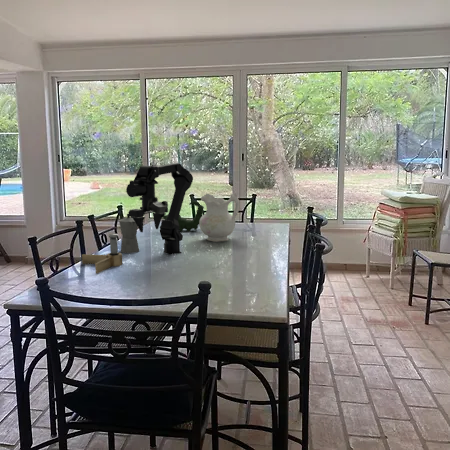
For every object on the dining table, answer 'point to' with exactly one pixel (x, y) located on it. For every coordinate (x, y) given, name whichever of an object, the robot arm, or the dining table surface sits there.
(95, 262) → the hinge
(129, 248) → the coffeepot
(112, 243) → the hinge pin
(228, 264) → the dining table surface
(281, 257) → the dining table surface
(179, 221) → the toy figurine
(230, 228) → the ceramic pitcher
